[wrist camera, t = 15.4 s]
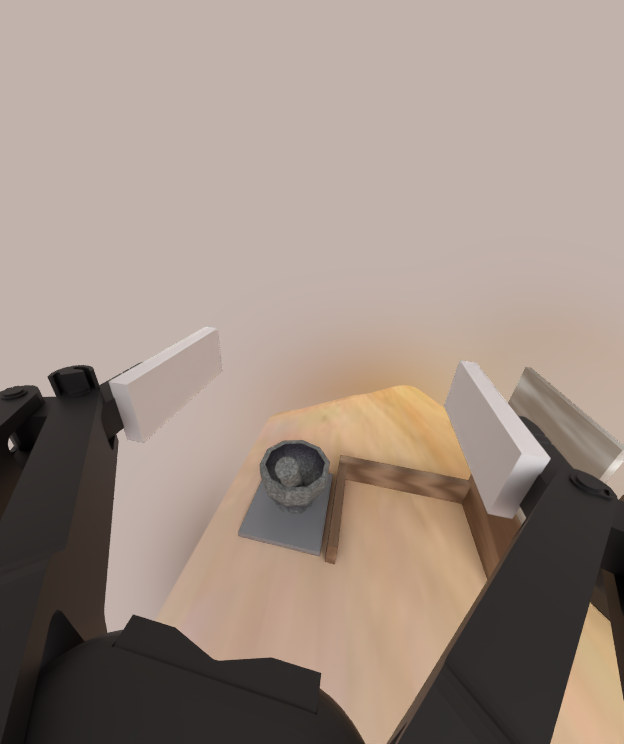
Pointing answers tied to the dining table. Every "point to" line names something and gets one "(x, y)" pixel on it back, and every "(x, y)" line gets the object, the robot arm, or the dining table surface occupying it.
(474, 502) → the brown piece
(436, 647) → the dining table surface
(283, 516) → the slate pad
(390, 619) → the dining table surface
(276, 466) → the mortar and pestle
